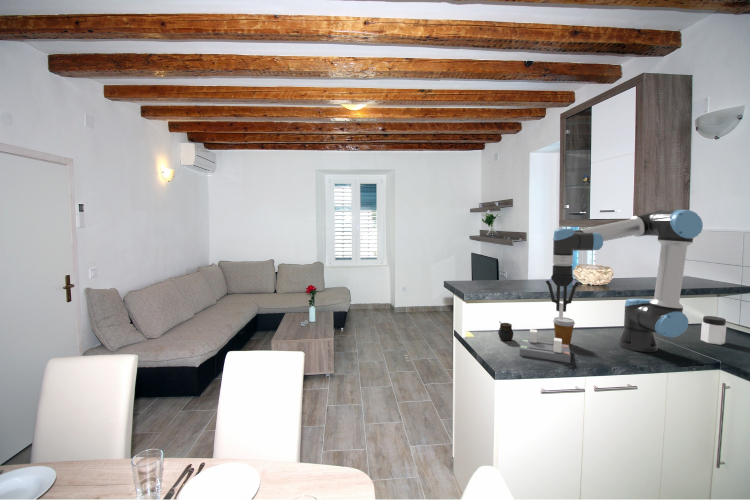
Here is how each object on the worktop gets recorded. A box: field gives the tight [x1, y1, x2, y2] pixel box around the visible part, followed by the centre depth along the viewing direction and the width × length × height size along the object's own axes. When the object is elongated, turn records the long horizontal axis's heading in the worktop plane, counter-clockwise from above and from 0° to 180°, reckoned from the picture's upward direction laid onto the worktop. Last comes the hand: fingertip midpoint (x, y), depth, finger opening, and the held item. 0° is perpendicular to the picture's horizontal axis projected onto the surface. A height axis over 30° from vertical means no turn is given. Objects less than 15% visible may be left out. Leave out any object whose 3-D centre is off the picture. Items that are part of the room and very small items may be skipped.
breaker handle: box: [529, 328, 538, 343], centre depth 171 cm, size 3×4×5 cm
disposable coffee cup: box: [552, 316, 576, 346], centre depth 177 cm, size 10×10×12 cm
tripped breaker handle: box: [553, 337, 562, 353], centre depth 158 cm, size 3×4×5 cm
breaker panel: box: [519, 338, 571, 364], centre depth 165 cm, size 20×15×3 cm
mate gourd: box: [497, 320, 514, 342], centre depth 183 cm, size 7×8×10 cm
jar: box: [700, 315, 727, 346], centre depth 179 cm, size 9×8×12 cm
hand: (560, 318), depth 157 cm, fingers closed
